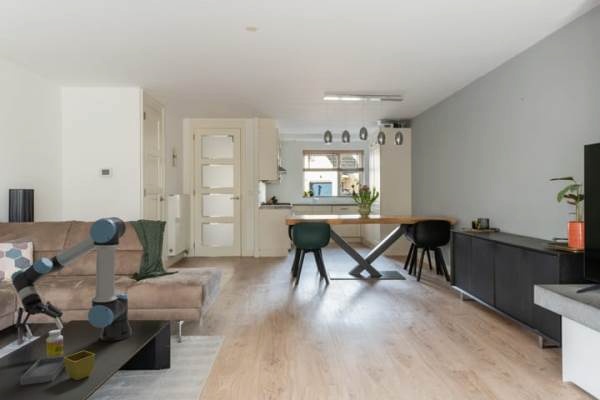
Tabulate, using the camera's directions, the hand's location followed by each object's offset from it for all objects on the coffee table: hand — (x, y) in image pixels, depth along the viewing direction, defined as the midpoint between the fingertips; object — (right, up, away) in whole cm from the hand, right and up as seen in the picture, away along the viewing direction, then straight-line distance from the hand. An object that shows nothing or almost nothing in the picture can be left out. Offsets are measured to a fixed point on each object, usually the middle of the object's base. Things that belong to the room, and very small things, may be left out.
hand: (46, 333), depth 186 cm
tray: (+11, -11, -17) cm, 23 cm away
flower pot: (+28, -11, -22) cm, 37 cm away
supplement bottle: (+5, -11, -2) cm, 13 cm away
